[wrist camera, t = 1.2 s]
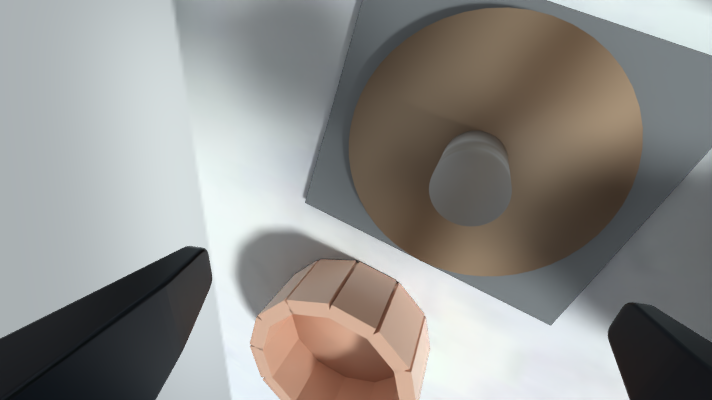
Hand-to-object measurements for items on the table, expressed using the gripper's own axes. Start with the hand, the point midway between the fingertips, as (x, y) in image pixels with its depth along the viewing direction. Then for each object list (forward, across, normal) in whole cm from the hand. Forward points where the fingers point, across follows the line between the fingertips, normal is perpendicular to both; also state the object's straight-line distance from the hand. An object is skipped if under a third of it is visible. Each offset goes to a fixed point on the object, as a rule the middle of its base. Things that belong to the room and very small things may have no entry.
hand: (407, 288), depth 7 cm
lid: (+11, -4, +1) cm, 12 cm away
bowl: (+12, +1, +15) cm, 19 cm away
